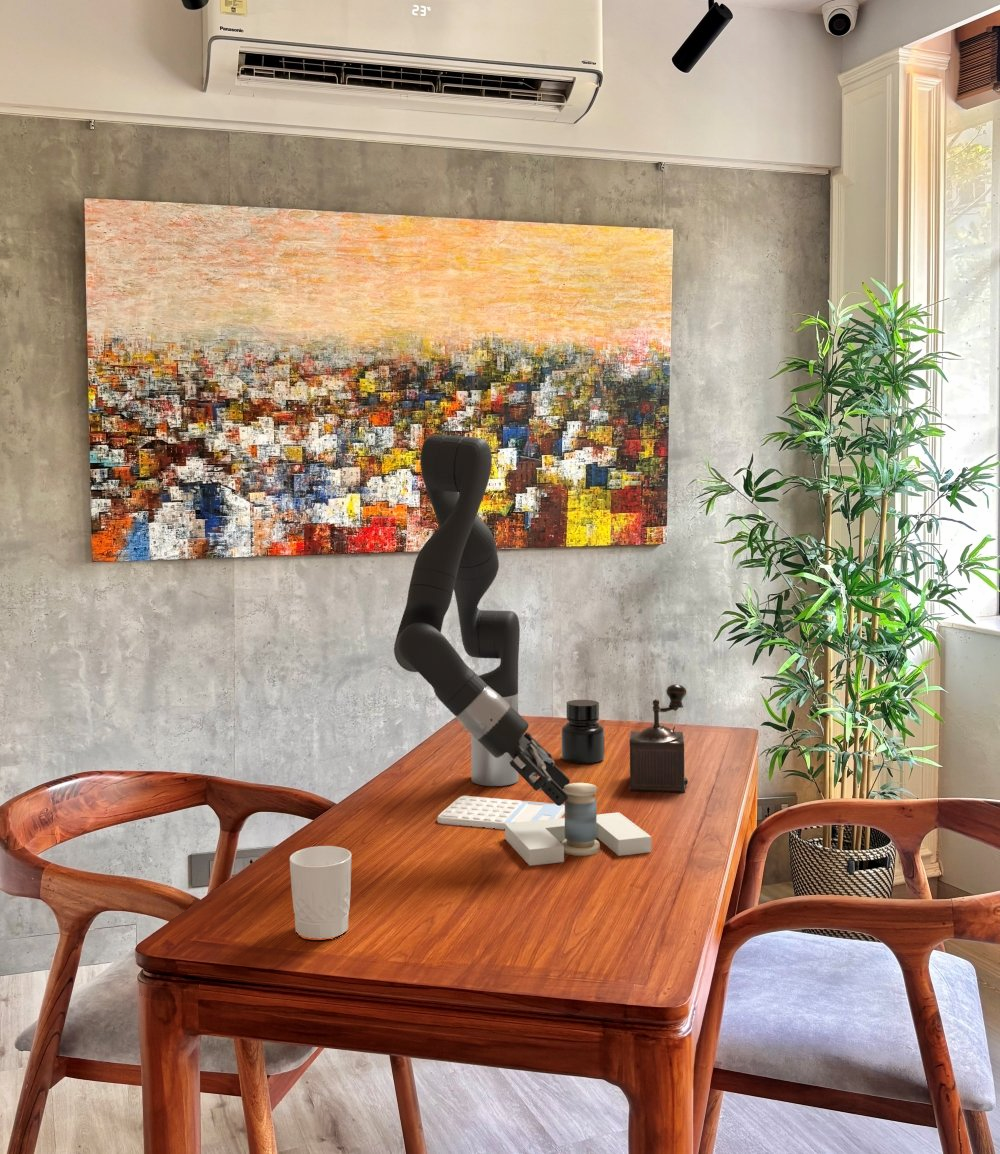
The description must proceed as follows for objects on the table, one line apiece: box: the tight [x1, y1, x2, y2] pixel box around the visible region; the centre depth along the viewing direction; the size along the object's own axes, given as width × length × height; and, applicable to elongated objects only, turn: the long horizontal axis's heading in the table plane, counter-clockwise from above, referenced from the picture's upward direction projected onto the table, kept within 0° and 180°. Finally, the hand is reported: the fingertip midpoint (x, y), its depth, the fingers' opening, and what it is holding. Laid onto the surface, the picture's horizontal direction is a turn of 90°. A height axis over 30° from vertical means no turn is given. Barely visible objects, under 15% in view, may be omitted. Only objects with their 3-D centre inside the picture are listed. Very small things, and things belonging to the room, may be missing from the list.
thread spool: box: [561, 782, 601, 857], centre depth 170 cm, size 6×6×10 cm
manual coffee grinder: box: [629, 684, 689, 794], centre depth 208 cm, size 16×11×18 cm
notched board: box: [504, 811, 652, 867], centre depth 172 cm, size 13×20×2 cm, turn 106°
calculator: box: [436, 795, 565, 830], centre depth 187 cm, size 13×20×2 cm, turn 73°
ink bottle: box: [560, 699, 605, 765], centre depth 225 cm, size 10×9×12 cm
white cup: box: [289, 845, 352, 939], centre depth 139 cm, size 8×8×10 cm
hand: (565, 793), depth 170 cm, fingers open, 8 cm apart
